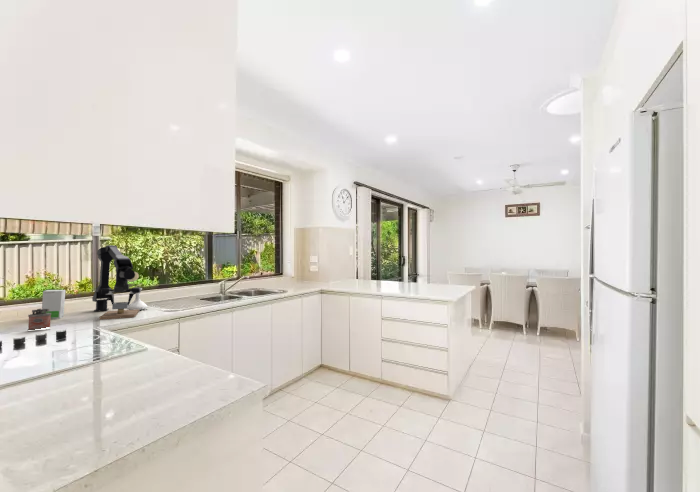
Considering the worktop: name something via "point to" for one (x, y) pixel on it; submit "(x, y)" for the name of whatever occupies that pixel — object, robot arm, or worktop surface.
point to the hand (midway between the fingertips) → (120, 305)
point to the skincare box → (54, 302)
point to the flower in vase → (137, 303)
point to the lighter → (39, 319)
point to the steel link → (120, 305)
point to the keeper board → (119, 314)
